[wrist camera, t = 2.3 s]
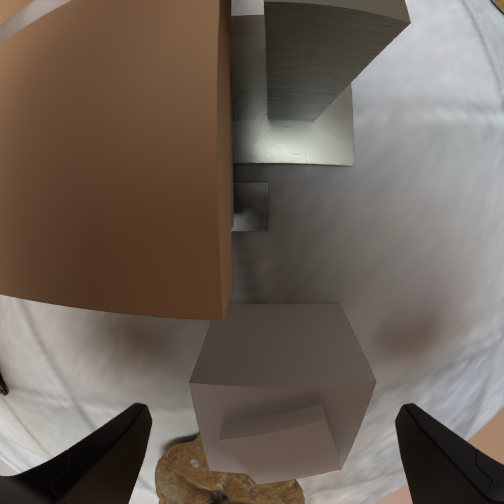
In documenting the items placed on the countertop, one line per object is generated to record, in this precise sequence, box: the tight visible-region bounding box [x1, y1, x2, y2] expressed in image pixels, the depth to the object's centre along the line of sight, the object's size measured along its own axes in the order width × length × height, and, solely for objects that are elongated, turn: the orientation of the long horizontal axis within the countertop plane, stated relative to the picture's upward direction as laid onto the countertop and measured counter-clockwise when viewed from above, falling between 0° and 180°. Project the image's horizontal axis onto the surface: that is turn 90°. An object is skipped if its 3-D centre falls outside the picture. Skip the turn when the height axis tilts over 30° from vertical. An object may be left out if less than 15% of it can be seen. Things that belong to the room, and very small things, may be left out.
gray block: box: [189, 303, 376, 484], centre depth 9 cm, size 5×5×6 cm
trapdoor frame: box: [230, 0, 411, 231], centre depth 6 cm, size 23×8×8 cm, turn 91°
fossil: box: [155, 435, 305, 504], centre depth 13 cm, size 9×4×10 cm
